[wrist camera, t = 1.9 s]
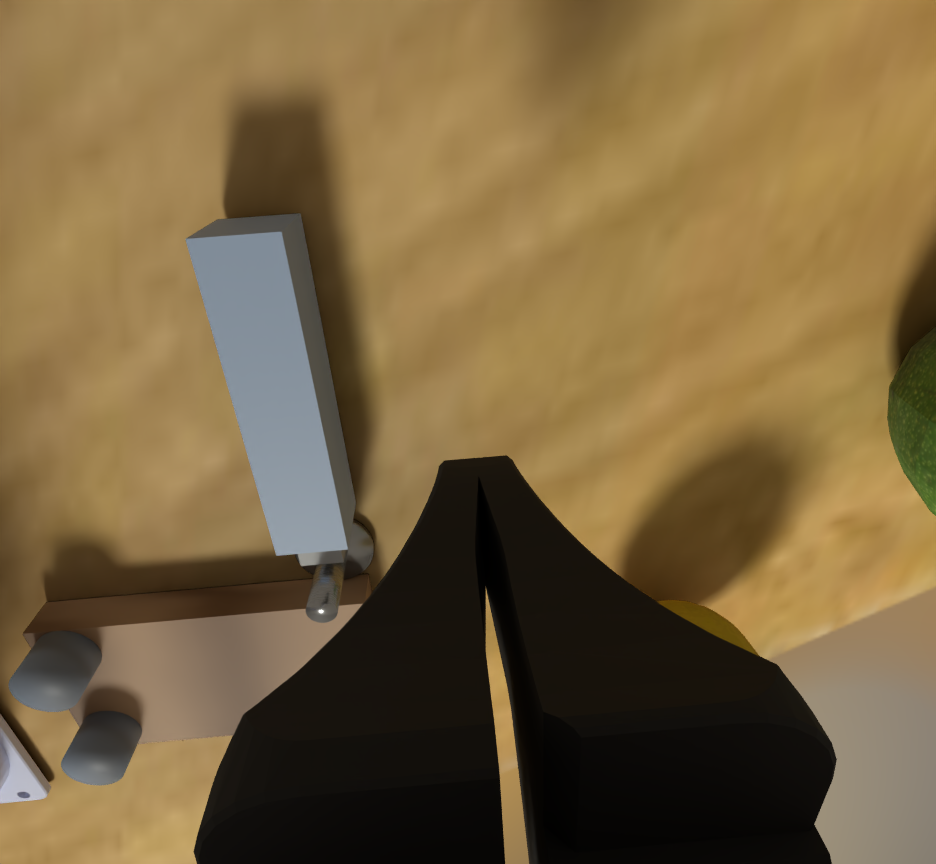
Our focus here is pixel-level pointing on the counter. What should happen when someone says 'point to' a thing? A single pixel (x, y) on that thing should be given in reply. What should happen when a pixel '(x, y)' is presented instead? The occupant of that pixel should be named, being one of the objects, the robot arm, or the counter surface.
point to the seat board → (168, 663)
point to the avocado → (916, 417)
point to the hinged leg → (279, 378)
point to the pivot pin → (337, 575)
